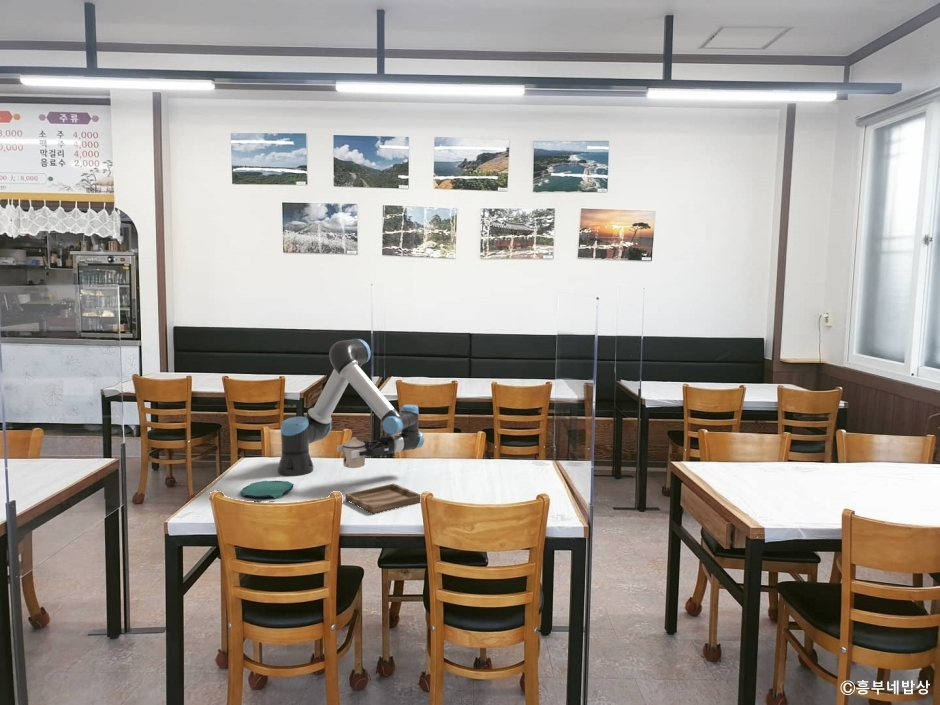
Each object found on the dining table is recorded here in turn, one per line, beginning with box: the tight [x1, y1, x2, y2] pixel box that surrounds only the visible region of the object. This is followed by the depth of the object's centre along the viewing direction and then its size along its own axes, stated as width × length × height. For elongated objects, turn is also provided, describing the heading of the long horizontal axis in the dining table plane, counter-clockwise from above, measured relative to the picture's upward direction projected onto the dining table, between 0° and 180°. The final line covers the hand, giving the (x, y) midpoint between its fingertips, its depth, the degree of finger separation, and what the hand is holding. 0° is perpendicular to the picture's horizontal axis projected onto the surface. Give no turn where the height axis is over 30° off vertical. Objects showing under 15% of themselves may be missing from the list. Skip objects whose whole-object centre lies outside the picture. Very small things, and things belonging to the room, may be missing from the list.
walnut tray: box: [344, 483, 421, 515], centre depth 244 cm, size 20×22×2 cm
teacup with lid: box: [342, 436, 366, 469], centre depth 261 cm, size 12×9×12 cm
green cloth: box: [239, 480, 295, 503], centre depth 250 cm, size 20×30×2 cm, turn 174°
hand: (344, 451), depth 258 cm, fingers closed on teacup with lid, 10 cm apart
